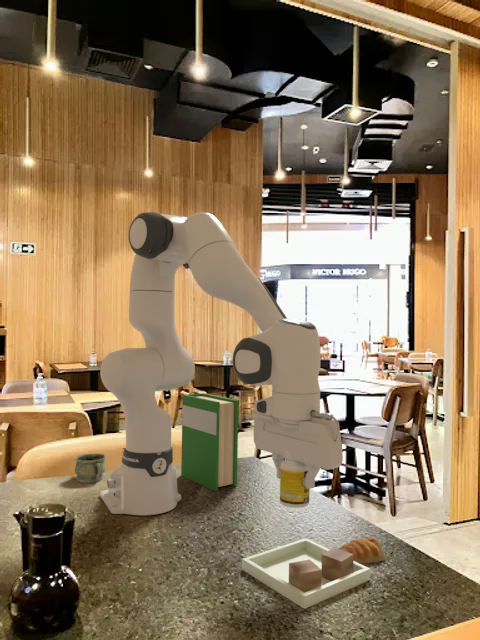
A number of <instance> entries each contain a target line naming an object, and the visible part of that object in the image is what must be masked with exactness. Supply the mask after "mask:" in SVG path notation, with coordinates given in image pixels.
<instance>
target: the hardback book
mask: <svg viewBox="0 0 480 640" xmlns="http://www.w3.org/2000/svg"><path fill="white" fill-rule="evenodd" d="M181 409H182V414H181V415H182V416H181V418H182V419H181V424H182V425H181V461H180V462H181V468H180V469H181V473H180V476H181V475H182V476H181V477H183V476H184V478H185V479H188V480H190V481H192V482H194V481H195V483H196V484H199V485H201V486H203V487H205V486H206V488H208V489H210V490H213V491H215V492H217V490H218V491H219V488H220V487H225V486H228V485H229V486H231V485H232V486H231V487H234V486H236V487H237V486H238V452H239V450H238V448H239V447H238V446H239V445H238V444H239V442H238V441H239V399H234V398H229V397H224V396H219V395H216V394H215V395H214V394H209V393H205V392H204V393H203V392H201V393H191V394H182V408H181Z"/></svg>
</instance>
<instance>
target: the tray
mask: <svg viewBox="0 0 480 640" xmlns="http://www.w3.org/2000/svg"><path fill="white" fill-rule="evenodd" d="M329 550H330V548H327V547H325V546H323V545H321V544H319V543H317V542H315V541H313V540H311V539H308V538H306V537H305V538H302V539H298V540H296V541H293V542H290V543H288V544H283V545H279V546H278V547H274V548H272V549H268V550H266V551H262V552H259V553H256V554H253V555H249V556H248V557H247V556H246V557H244V558H242V563H241V565H242V566H241V568H242V569H241V570H242V571H243V572H245V573H247V574H248V575H250V576H251V577H253V578H255V579H257V580H258V581H259V582H260V583H262V584H263V585H265V586H267V587H269V588H270V589H272V590H274V591H276V593H278V594H280V595H281V596H283V597H285V598H287V599H288V600H289V601H291V602H293V603H294V604H296V605H298V606H299V607H300V608H303V609H304V610H305V609H308V608H310V607H313V606H315V605H316V604H319V603H322V602H324V601H326V600H329V599H331V598H333V597H335V596H337V595H339V594H342V593H344V592H346V591H348V590H351V589H353V588H355V587H358V586H360V585H362V584H364V583H366V582H368V581H371V568H370V567H368V566H365V564H359V563H357V562H355V561H353V573H351V574H349V575H346V576H344V577H341V578H339V579H337V580H334V581H330V580H327V579H325V578H323V577H322V586H320V587H317V588H315V589H313V590H310V591H308V592H305V593H304V592H302V591H301V590H299V589H297V588H296V587H294V586H292V585H291V584H289V563H293V562H298V561H304V560H311V561H312V562H313V563H314V564H316V565H317V566H318V567H319V568H320V569H321V570H322V554H323V553H325V552H327V551H329Z"/></svg>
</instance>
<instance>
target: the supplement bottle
mask: <svg viewBox="0 0 480 640" xmlns="http://www.w3.org/2000/svg"><path fill="white" fill-rule="evenodd" d="M307 472H308V470H307V469H306V463H303V462H300V461H296V460H293V459H292V457H291V452H289V451H285V458H284V461H283V462H282V463H281V468H280V479H279V482H280V483H279V503H280V504H281V505H282V506H283V507H286V508H294V509H298V508H299V509H301V508H305V507H307V506H309V504H310V494H311V493H310V490H311V489H307V488H305V487H303V486H302V477H306V475H307Z"/></svg>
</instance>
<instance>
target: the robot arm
mask: <svg viewBox="0 0 480 640" xmlns="http://www.w3.org/2000/svg"><path fill="white" fill-rule="evenodd" d="M128 242H129V245H130V248H131V250H132V252H133V253H135V255H134V258H133V263H132V265H131V266H132V267H131V273H130V282H129V295H128V296H129V299H128V300H129V302H128V303H129V305H128V321H129V323H130V325H131V327H132V328H134V329H135V330H137V331H138V332H140V334H141V336H142V337H143V338H142V339H143V340H144V345H145V346H144V347H130V348H129V347H127V348H122V349H118V350H114V351H111V352H109V353H108V354H106V356H105V357H104V359H103V361H102V362H101V366H100V379H101V382H102V384H103V386H104V387H105V389H106V390H107V391H108V392H110V393H111V394H112V395H114V397H116V399H117V401H118V402H119V404H120V407H121V409H122V410H123V415H124V420H125V422H124V424H125V447H123V448H122V450H123V451H122V454H121V455H122V458H121V463H120V464H119V465H118V466H117V467H116V469H114V470H113V471H112V472H111V473H110V476H109V478H108V479H107V481H106V487H107V489H105V490H104V489H103V490H102V491H100V493H99V496H100V498H101V500H102V501H103V502H104V503H103V504H105V506H106V508H107V509H108V511H109V512H110V513H111V514H114V515H124V514H125V515H131V516H132V515H133V516H153V515H159V514H163V513H167V512H170V511H172V510H173V509H175V508H176V507H177V505H178V502H180V501H181V500H182V494H181V493H179V492H178V480H177V479H178V478H177V477H178V476H177V468H176V467H175V466H174V465H173V461H174V452H173V449H174V448H173V447H172V417H171V415H170V413H169V412H168V411H167V410H165V409H164V408H162V407H161V406H159V404H158V403H157V399H156V392H163V391H173V390H176V389H179V388H181V387H183V386H187V385H188V384H190V383H191V381H192V380H193V379H194V375H195V370H196V365H195V361H194V358H193V356H192V355H191V353H190V352H189V351H188V350H187V349H186V348H185V347H184V346H183V344H182V343H181V340H180V337H179V334H178V332H177V328H176V321H175V318H176V317H175V315H176V314H175V301H176V300H175V299H176V298H175V295H176V291H175V290H176V286H175V285H176V281H175V280H176V273H177V271H178V269H179V268H180V267H181V266H183V267H184V268H185V269H187V270H188V269H189V270H190V272H191V275H192V276H193V279H194V281H195V282H196V283H197V285H198V287H200V288H201V290H202V291H203V292H204V293H205V294H207V295H209V296H211V297H212V298H215V299H219V300H222V301H225V302H228V303H230V304H233V305H235V306H237V307H239V308H241V309H242V310H244V311H245V312H247V313H248V314H249V315H250V316H251V317H252V318H253V320H254V321H255V324H256V325H257V326H258V328H259V329H260V333H257V334H255V335H251V336H247V337H244V338H242V339H241V340H240V341H238V343H237V344H236V346H235V348H234V349H233V352H232V353H233V354H232V368H233V371H234V373H235V376H236V377H237V378H238V380H239V381H241V382H242V383H243V384H245V385H249V386H271V396H268V397H265V398H262V399H259V400H256V401H254V403H253V410H254V412H255V413H256V414H255V415H254V417H253V443H254V445H255V447H256V449H258V450H261V451H263V452H267V453H269V454H272V455H271V457H272V461H273V464H274V467H275V469H276V478H277V479H279V480H280V468H281V463H282V462H283V461H284V460H285V459H286V458H285V451H289V452H291V457H292V459H293V460H296V461H300V462H303V463H306V469H307V470H308V472H307V475H306V477H302V486H303V487H305V488H307V489H310V490H311V489H314V488H315V487H316V484H315V483H316V482H315V481H316V480H315V479H316V477H317V476H318V474H319V472H320V470H321V469H323V470H327V471H328V470H334V469H338V468H340V467H341V465H342V463H343V460H344V457H343V442H342V436H341V431H340V422H339V421H338V419H336V417H334V414H332V413H329V412H323V411H321V386H320V383H319V374H320V372H321V344H320V343H321V341H320V335H319V331H318V329H317V327H316V325H315V324H314V323H312V322H310V321H307V320H302V319H295V318H289V317H287V316H286V314H285V313H284V311H283V310H282V309H281V307H280V305H279V304H278V302H277V301H276V299H275V298H274V296H273V295H272V293H271V292H270V290H269V289H268V287H267V286H266V285H265V284H264V282H262V280H261V279H260V278H259V277H258V276H257V275H256V274H255V273H254V272H253V270H252V269H251V268H250V267H249V266H248V264H247V263H246V261H245V260H244V258H243V257H242V255H241V253H240V252H239V250H238V249H237V247H236V245H235V242H234V241H233V239H232V237H231V236H230V234H229V232H228V230H226V228H225V227H224V226H223V224H222V223H221V222H220V220H219V219H218V218H217V217H216V216H215V215H213V214H212V213H209V212H197V213H193V214H192V215H189V216H188V217H187V216H183V215H179V214H178V215H177V214H175V215H173V214H167V213H166V214H165V213H158V212H156V211H147V212H141V213H138V215H136V216H135V218H134V219H133V220H132V222H131V223H130V226H129V231H128Z"/></svg>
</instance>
